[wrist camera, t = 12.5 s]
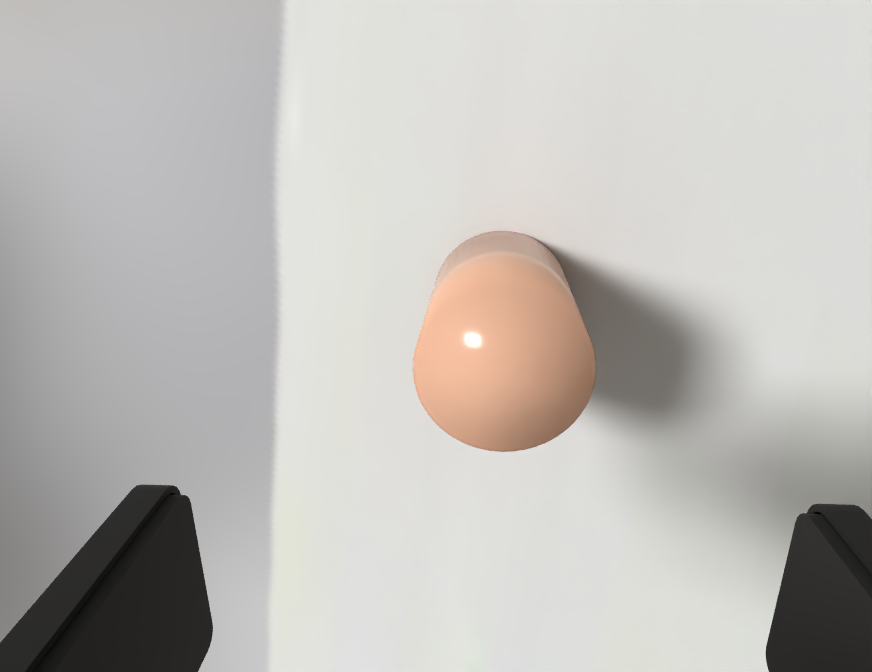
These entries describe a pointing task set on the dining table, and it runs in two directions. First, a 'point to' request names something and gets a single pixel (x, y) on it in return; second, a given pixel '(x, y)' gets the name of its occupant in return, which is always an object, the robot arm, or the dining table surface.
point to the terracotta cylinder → (503, 346)
